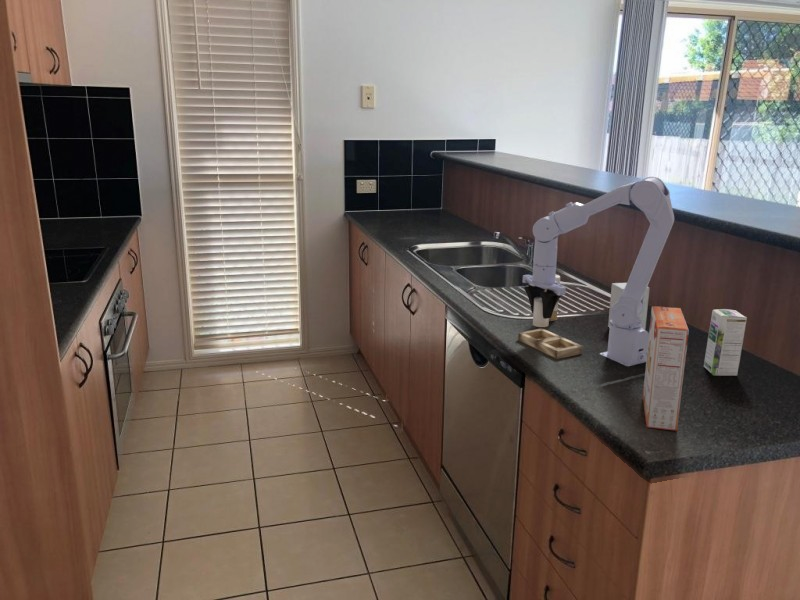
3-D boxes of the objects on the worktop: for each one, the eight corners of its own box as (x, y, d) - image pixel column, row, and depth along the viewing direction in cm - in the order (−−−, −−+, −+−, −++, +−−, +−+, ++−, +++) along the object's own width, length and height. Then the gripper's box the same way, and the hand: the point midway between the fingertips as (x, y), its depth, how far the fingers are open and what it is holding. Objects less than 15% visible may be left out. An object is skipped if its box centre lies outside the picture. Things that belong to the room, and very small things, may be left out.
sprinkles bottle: (554, 323, 188) (557, 278, 184) (539, 321, 190) (542, 276, 187) (559, 319, 192) (562, 274, 188) (544, 316, 194) (546, 272, 190)
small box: (633, 325, 186) (638, 281, 183) (645, 333, 180) (650, 287, 177) (607, 327, 185) (611, 282, 181) (617, 334, 179) (622, 288, 175)
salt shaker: (551, 325, 170) (553, 299, 168) (539, 328, 168) (541, 301, 166) (541, 321, 173) (543, 295, 171) (529, 323, 171) (530, 297, 169)
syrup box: (702, 366, 157) (710, 308, 153) (727, 366, 157) (736, 309, 153) (712, 376, 152) (721, 316, 147) (738, 376, 151) (748, 316, 147)
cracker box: (640, 398, 140) (651, 304, 134) (670, 402, 138) (682, 307, 132) (643, 428, 127) (655, 325, 121) (677, 432, 125) (691, 328, 119)
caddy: (582, 355, 164) (582, 346, 163) (557, 361, 160) (558, 351, 160) (541, 337, 177) (542, 328, 176) (517, 341, 174) (518, 332, 173)
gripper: (514, 260, 170) (511, 310, 174) (551, 272, 158) (547, 325, 162) (535, 257, 173) (532, 306, 177) (573, 268, 161) (569, 321, 165)
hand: (541, 315), depth 170 cm, fingers closed on salt shaker, 4 cm apart
